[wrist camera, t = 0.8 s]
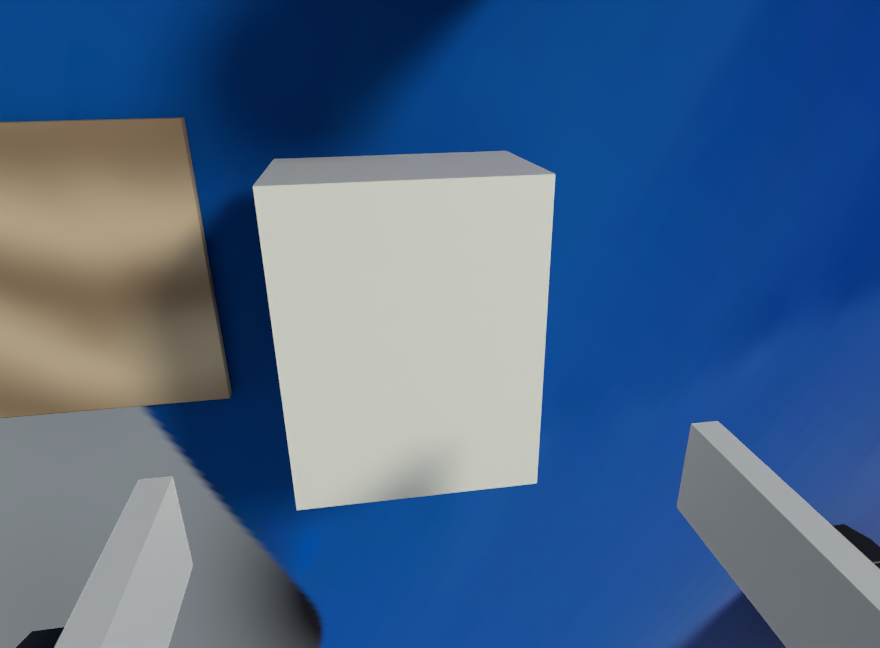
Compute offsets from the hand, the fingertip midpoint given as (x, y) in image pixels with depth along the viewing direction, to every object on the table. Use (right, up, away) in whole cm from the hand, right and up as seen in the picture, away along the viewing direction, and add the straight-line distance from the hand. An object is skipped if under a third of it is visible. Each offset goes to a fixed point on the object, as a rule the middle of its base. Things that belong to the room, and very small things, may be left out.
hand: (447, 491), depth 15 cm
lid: (-2, +6, +13) cm, 14 cm away
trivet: (-18, +7, +13) cm, 23 cm away
